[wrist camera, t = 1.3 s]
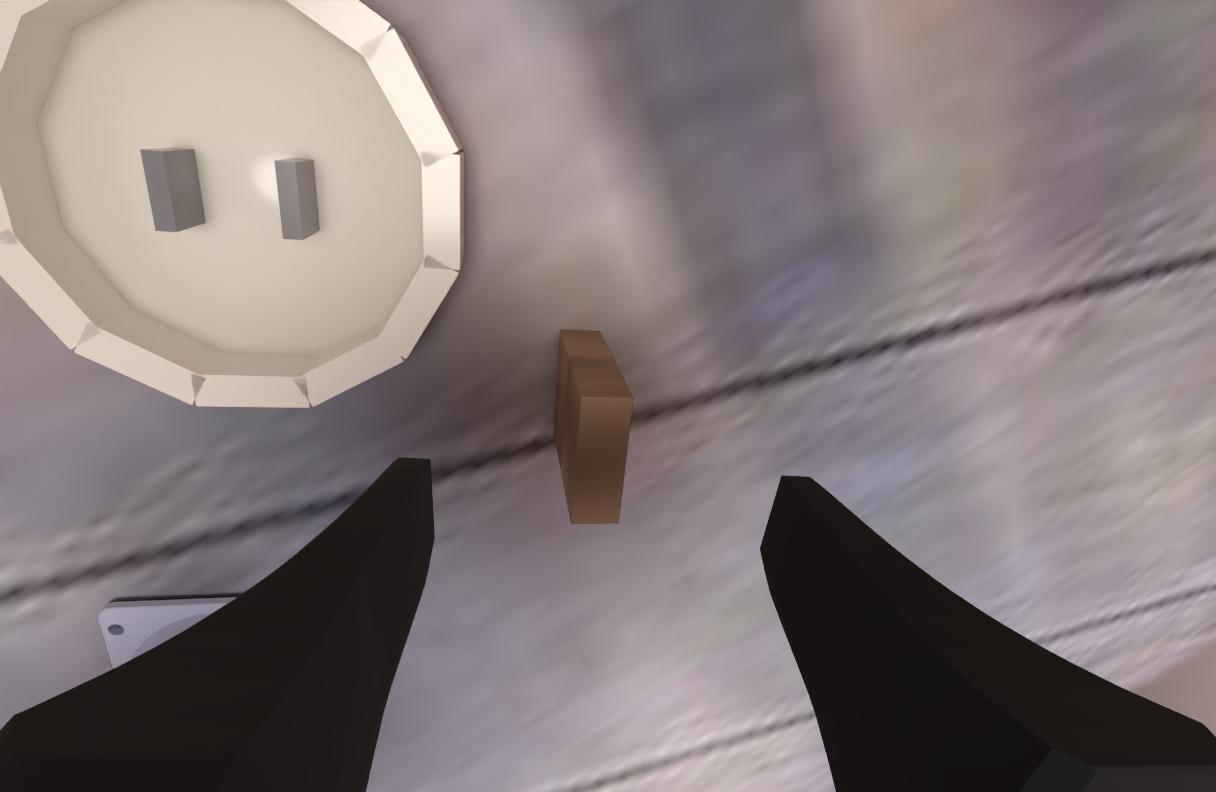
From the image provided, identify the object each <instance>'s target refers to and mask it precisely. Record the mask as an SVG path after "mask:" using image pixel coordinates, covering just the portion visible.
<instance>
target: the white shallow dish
mask: <svg viewBox="0 0 1216 792" xmlns="http://www.w3.org/2000/svg"><path fill="white" fill-rule="evenodd" d="M461 149H463V147H462V145H461V143H460V141H459V139H458V137H457V135H456V134H455V132H454V130H453V128H452V126H451V124H450V122H449V120H448V118H447V116H446V114H445V113H444V111H443V109H442V107H441V105H440V103H439V101H438V99H437V97H436V95H435V93H434V92H433V90H432V88H431V86H430V84H429V82H428V80H427V78H426V76H425V74H424V72H423V71H422V69H421V67H420V65H419V63H418V61H417V59H416V57H415V55H414V53H413V51H412V50H411V48H410V46H409V44H408V42H407V41H406V40H405V39H404V37H403V36H402V35H401V34H400V33H399V32H398V31H397V30H396V29H395V28H394V27H393V26H392V25H391V24H390V23H388V22H387V21H386V20H384V19H383V18H382V17H380V16H379V15H378V14H376V13H375V12H374V11H372V10H371V9H370V8H368V7H367V6H365V5H364V4H363V3H361V2H360V1H359V0H0V275H1V276H2V278H3V279H4V280H5V281H6V282H7V283H8V284H9V285H10V286H11V287H12V288H13V289H14V290H15V291H16V292H17V293H18V295H19V296H20V297H21V298H22V299H23V300H24V301H25V302H26V303H27V304H28V305H29V306H30V307H31V308H32V309H33V310H34V312H35V313H36V314H37V315H38V316H39V317H40V318H41V319H42V320H43V321H44V322H45V323H46V324H47V325H48V326H49V327H50V329H51V330H52V331H53V332H54V333H55V334H56V335H57V336H58V337H59V338H60V339H61V340H62V341H63V342H64V343H65V345H66V346H67V347H68V348H69V349H72V348H74V347H76V346H77V347H76V349H75V351H74V352H75V353H77V354H79V355H81V356H84V357H86V358H88V359H90V360H93V361H95V362H97V363H99V364H101V365H104V366H106V367H108V368H110V369H113V370H115V371H117V372H119V373H121V374H124V375H126V376H128V377H130V378H133V379H135V380H137V381H139V382H142V383H144V384H146V385H148V386H150V387H153V388H155V389H157V390H159V391H162V392H164V393H166V394H168V395H170V396H173V397H175V398H177V399H179V400H182V401H184V402H186V403H188V404H190V405H193V404H194V403H195V402H196V406H221V407H291V408H310V406H311V405H312V406H313V407H314V406H316V405H318V404H320V403H322V402H324V401H326V400H328V399H330V398H332V397H334V396H336V395H338V394H340V393H342V392H344V391H346V390H348V389H350V388H352V387H354V386H356V385H358V384H360V383H362V382H364V381H366V380H368V379H370V378H372V377H374V376H376V375H378V374H380V373H382V372H384V371H386V370H388V369H390V368H392V367H394V366H396V365H398V364H400V363H402V362H404V360H405V359H407V357H408V356H409V354H410V353H411V351H412V349H413V348H414V346H415V344H416V343H417V341H418V339H419V338H420V336H421V335H422V333H423V331H424V330H425V328H426V326H427V325H428V323H429V322H430V320H431V318H432V317H433V315H434V313H435V312H436V310H437V309H438V307H439V305H440V304H441V302H442V300H443V299H444V297H445V295H446V294H447V292H448V291H449V289H450V287H451V286H452V284H453V282H454V281H455V279H456V278H457V276H458V274H459V272H460V268H461V264H462V260H463V256H464V152H457V151H459V150H461Z"/></svg>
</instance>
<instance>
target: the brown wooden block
mask: <svg viewBox="0 0 1216 792" xmlns="http://www.w3.org/2000/svg"><path fill="white" fill-rule="evenodd" d="M632 404H633V396H632V394H631V392H630V391H629V389H628V387H627V385H626V383H625V381H624V379H623V377H622V375H621V373H620V371H619V369H618V367H617V365H616V363H615V361H614V359H613V357H612V355H611V353H610V351H609V349H608V347H607V345H606V343H605V341H604V340H603V338H602V336H601V334H600V332H599V331H579V330H560V341H559V356H558V372H557V388H556V404H555V419H554V436H555V441H556V446H557V452H558V457H559V462H560V468H561V473H562V478H563V484H564V489H565V494H566V499H567V505H568V510H569V515H570V521H571V524H605V523H619V516H620V507H621V499H622V490H623V481H624V473H625V464H626V456H627V447H628V439H629V430H630V421H631V413H632Z"/></svg>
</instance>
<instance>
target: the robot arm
mask: <svg viewBox="0 0 1216 792" xmlns="http://www.w3.org/2000/svg"><path fill="white" fill-rule="evenodd" d="M434 538H435V535H434V517H433V498H432V480H431V461H430V459H420V458H398V459H397V460H395V461H394V462H393V463H392V464H391V465H390V466H389V467H388V468H387V469H386V470H385V471H384V472H383V473H382V474H381V475H380V476H379V477H378V479H377V480H376V481H375V482H374V483H373V484H372V485H371V486H370V487H369V488H368V489H367V490H366V491H365V492H364V493H363V494H362V495H361V496H360V497H359V498H358V499H357V500H356V501H355V502H354V503H353V504H351V505H350V506H349V507H348V508H347V509H346V510H345V511H344V512H343V513H342V514H341V515H340V516H339V517H338V518H337V519H336V520H335V521H334V522H332V523H331V524H330V525H329V526H328V527H327V528H326V529H325V530H324V531H322V532H321V533H320V534H319V535H318V536H317V537H315V538H314V539H313V540H312V541H311V542H310V543H308V544H307V545H306V546H305V547H304V548H303V549H301V550H300V551H299V552H298V553H297V554H295V555H294V556H293V557H292V558H291V559H289V560H288V561H287V562H285V563H284V564H283V565H282V566H280V567H279V568H278V569H276V570H275V571H274V572H273V573H271V574H270V575H269V576H267V577H266V578H264V579H263V580H262V581H260V582H259V583H257V584H256V585H255V586H253V587H252V588H251V589H249V590H248V591H246V592H245V593H243V594H242V595H240V596H239V597H228V598H203V599H177V600H152V601H127V602H112V603H109V604H107V605H105V607H104V608H103V609H102V610H101V612H100V613H99V615H98V620H99V623H100V627H101V630H102V633H103V637H104V640H105V644H106V647H107V650H108V654H109V657H110V661H111V664H112V667H113V669H112V670H110V671H108V672H106V673H104V674H102V675H100V676H98V677H96V678H94V679H92V680H90V681H87V682H85V683H83V684H81V685H79V686H77V687H75V688H72V689H70V690H68V691H66V692H64V693H62V694H60V695H57V696H55V697H53V698H51V699H49V700H47V701H45V702H43V703H40V704H38V705H36V706H34V707H32V708H29V709H27V710H25V711H23V712H20V713H18V714H16V715H14V716H13V717H12V718H11V719H10V720H9V721H8V722H7V723H6V725H5V726H4V727H3V728H2V729H1V730H0V792H366V788H367V783H368V779H369V774H370V770H371V765H372V761H373V756H374V752H375V748H376V743H377V739H378V735H379V730H380V726H381V722H382V717H383V713H384V709H385V706H386V702H387V699H388V695H389V692H390V688H391V685H392V682H393V679H394V676H395V673H396V670H397V667H398V664H399V661H400V658H401V655H402V652H403V649H404V646H405V643H406V640H407V637H408V635H409V632H410V629H411V626H412V623H413V620H414V617H415V614H416V611H417V607H418V604H419V601H420V598H421V595H422V592H423V589H424V586H425V583H426V578H427V573H428V568H429V564H430V559H431V553H432V548H433V543H434ZM760 551H761V556H762V560H763V565H764V570H765V574H766V578H767V582H768V586H769V590H770V594H771V596H772V599H773V602H774V605H775V607H776V610H777V613H778V615H779V618H780V621H781V623H782V626H783V629H784V631H785V634H786V636H787V639H788V642H789V644H790V647H791V649H792V652H793V655H794V657H795V660H796V662H797V665H798V668H799V670H800V673H801V675H802V678H803V680H804V683H805V686H806V688H807V691H808V694H809V697H810V700H811V703H812V705H813V708H814V711H815V714H816V718H817V721H818V725H819V729H820V732H821V736H822V740H823V743H824V747H825V751H826V754H827V758H828V762H829V765H830V769H831V773H832V778H833V782H834V786H835V790H836V792H1216V737H1215V736H1214V735H1213V734H1212V733H1211V731H1209V729H1208V728H1207V727H1206V726H1204V725H1203V724H1202V723H1200V722H1198V721H1196V720H1193V719H1191V718H1189V717H1187V716H1184V715H1182V714H1180V713H1178V712H1175V711H1173V710H1170V709H1168V708H1166V707H1164V706H1161V705H1159V704H1157V703H1155V702H1152V701H1150V700H1148V699H1146V698H1144V697H1141V696H1139V695H1137V694H1134V693H1132V692H1130V691H1128V690H1125V689H1123V688H1121V687H1119V686H1117V685H1115V684H1113V683H1111V682H1109V681H1107V680H1105V679H1103V678H1101V677H1099V676H1097V675H1095V674H1093V673H1091V672H1089V671H1087V670H1085V669H1083V668H1081V667H1079V666H1077V665H1075V664H1073V663H1071V662H1069V661H1067V660H1065V659H1063V658H1061V657H1060V656H1058V655H1056V654H1054V653H1052V652H1050V651H1048V650H1046V649H1045V648H1043V647H1041V646H1039V645H1038V644H1036V643H1034V642H1032V641H1031V640H1029V639H1027V638H1025V637H1024V636H1022V635H1020V634H1019V633H1017V632H1015V631H1013V630H1012V629H1010V628H1008V627H1006V626H1005V625H1003V624H1001V623H1000V622H998V621H997V620H995V619H993V618H992V617H990V616H988V615H987V614H985V613H984V612H982V611H981V610H979V609H978V608H976V607H975V606H973V605H972V604H970V603H969V602H967V601H966V600H964V599H963V598H961V597H960V596H958V595H957V594H955V593H954V592H952V591H951V590H949V589H948V588H946V587H945V586H944V585H942V584H941V583H939V582H938V581H937V580H935V579H934V578H932V577H931V576H930V575H929V574H927V573H926V572H925V571H923V570H922V569H921V568H919V567H918V566H917V565H915V564H914V563H913V562H911V561H910V560H909V559H907V558H906V557H905V556H904V555H902V554H901V553H900V552H899V551H897V550H896V549H895V548H894V547H892V546H891V545H890V544H889V543H888V542H886V541H885V540H884V539H883V538H882V537H880V536H879V535H878V534H877V533H876V532H874V531H873V530H872V529H871V528H870V527H868V526H867V525H866V524H865V523H864V522H863V521H861V520H860V519H859V518H858V517H857V516H856V515H855V514H853V513H852V512H851V511H850V510H849V509H848V508H846V507H845V506H844V505H843V504H842V503H841V502H840V501H838V500H837V499H836V498H835V497H834V496H833V495H831V494H830V493H829V492H828V491H827V490H825V489H824V488H823V487H822V486H821V485H819V484H818V483H817V482H816V481H814V480H813V479H812V478H810V477H801V476H781V479H780V483H779V486H778V489H777V493H776V496H775V499H774V503H773V506H772V510H771V513H770V516H769V520H768V523H767V527H766V530H765V533H764V537H763V540H762V544H761V547H760ZM115 624H116V625H120V626H122V627H118V626H116V625H115Z"/></svg>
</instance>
